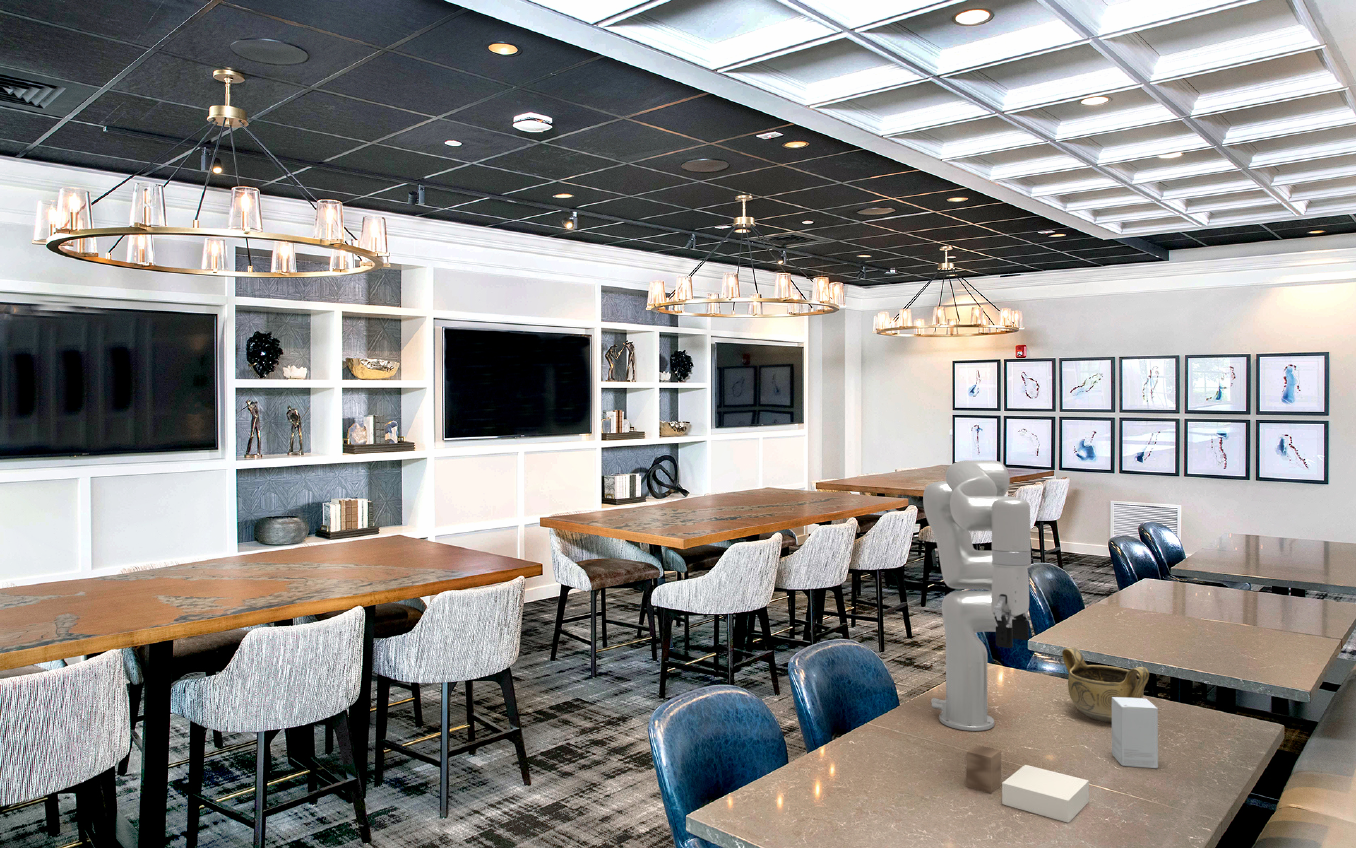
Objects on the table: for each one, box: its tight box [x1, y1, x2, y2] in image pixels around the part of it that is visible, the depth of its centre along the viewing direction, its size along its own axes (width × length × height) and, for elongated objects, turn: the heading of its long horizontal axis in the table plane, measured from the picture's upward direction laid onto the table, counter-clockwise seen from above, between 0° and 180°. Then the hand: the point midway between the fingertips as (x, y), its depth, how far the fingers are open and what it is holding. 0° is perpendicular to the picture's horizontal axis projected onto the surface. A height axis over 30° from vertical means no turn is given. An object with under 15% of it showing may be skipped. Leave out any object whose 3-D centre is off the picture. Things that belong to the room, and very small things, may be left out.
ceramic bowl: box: [1061, 646, 1150, 723], centre depth 216 cm, size 22×17×15 cm
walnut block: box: [965, 744, 1002, 794], centre depth 175 cm, size 5×5×7 cm
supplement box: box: [1111, 697, 1159, 769], centre depth 188 cm, size 7×7×13 cm
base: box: [1001, 764, 1090, 824], centre depth 167 cm, size 12×12×4 cm
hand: (1012, 643), depth 181 cm, fingers open, 9 cm apart
